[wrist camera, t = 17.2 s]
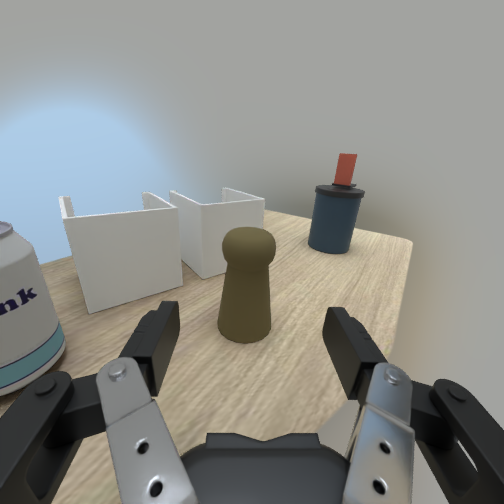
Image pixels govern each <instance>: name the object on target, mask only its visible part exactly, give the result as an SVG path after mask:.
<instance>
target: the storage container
mask: <svg viewBox="0 0 504 504" xmlns="http://www.w3.org/2000/svg"><path fill="white" fill-rule="evenodd" d="M169 193H170V203H168V202H167V201H165V200H163V199H161V198H160V197H158V196H156V195H154V194H152V193H151V192H142V198H143V205H144V210H140V211H130V212H119V213H109V214H98V215H89V216H78V217H75V215H74V211H73V207H72V203H71V199H70V196H64V197H59V202H60V207H61V214H62V219H63V223H64V226H65V230H66V234H67V237H68V241H69V244H70V248H71V252H72V255H73V259H74V262H75V266H76V270H77V273H78V277H79V280H80V284H81V288H82V291H83V295H84V298H85V302H86V305H87V309H88V313H89V314H91V313H95V312H98V311H101V310H105V309H108V308H111V307H114V306H118V305H121V304H124V303H128V302H131V301H134V300H137V299H141V298H144V297H147V296H150V295H154V294H157V293H160V292H164V291H167V290H170V289H173V288H177V287H180V286H183V278H182V263H181V260H182V261H184V262H185V263H186V264H187V265H188V266H189V267H190V268H191V269H192V270H193V271H194V272H195V273H196V274H197V275H199V276H200V277H201V278H202V279H206V278H209V277H213V276H216V275H219V274H223V273H226V268H227V262H226V260H225V259H224V256H223V252H222V242H223V239H224V237H225V235H226V234H227V232H228V231H230V230H232V229H234V228H238V227H256V228H261V229H263V219H264V208H265V199H263V198H260V197H256V196H253V195H249V194H246V193H243V192H240V191H236V190H233V189H229V188H222V203H213V204H200V203H198V202H195V201H193V200H191V199H189V198H187V197H184V196H182V195H180V194H178V193H177V191H169Z"/></svg>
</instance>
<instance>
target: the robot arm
mask: <svg viewBox="0 0 504 504" xmlns="http://www.w3.org/2000/svg"><path fill="white" fill-rule="evenodd" d="M179 332H180V318H179V305H178V301H162V302H161V304H160V306H159V308H158V310H151V311H149V312H148V313H147V314H146V315H144V316H143V317H142V319H141V320H140V322H139V324H138V326H137V327H136V329H135V330H134V333H133V334H132V335H131V337H130V339H129V340H128V342H127V344H126V345H125V347H124V348H123V350H122V352H121V353H120V355H119V357H118V358H117V359H114V360H112V361H110V362H108V363H107V364H106V365H104V366H103V367H102V368H101V369H100V371H99V372H98V373H96V374H93V375H89V376H85V377H80V378H76V379H71V376H70V375H69V374H68V373H67V372H63V371H58V372H52V373H49V374H46V375H44V376H42V377H40V378H38V379H36V380H35V381H33V382H32V383H31V384H30V385H28V386H27V387H26V388H25V390H24V391H23V392H22V393H21V394H20V395H19V397H18V398H17V399H16V400H15V401H14V403H13V404H12V405H11V406H10V407H9V408H8V410H7V411H6V412H5V413H4V414H3V416H2V417H1V418H0V504H51V503H52V501H53V499H54V497H55V495H56V493H57V491H58V489H59V487H60V485H61V483H62V481H63V479H64V477H65V475H66V473H67V471H68V469H69V467H70V465H71V463H72V461H73V459H74V457H75V455H76V453H77V451H78V449H79V447H80V445H81V443H82V441H83V439H84V438H87V437H90V436H93V435H96V434H99V433H102V432H105V431H106V433H107V438H108V442H109V447H110V451H111V456H112V461H113V465H114V470H115V474H116V479H117V484H118V488H119V493H120V498H121V502H122V504H411V503H412V483H413V482H412V481H413V463H414V462H413V461H414V442H415V441H416V443H417V444H418V446H419V448H420V450H421V452H422V454H423V456H424V458H425V459H426V461H427V463H428V465H429V467H430V469H431V471H432V472H433V474H434V476H435V478H436V480H437V482H438V484H439V485H440V487H441V489H442V491H443V493H444V494H445V497H446V499H447V500H448V502H449V504H504V430H503V429H502V428H501V427H500V425H499V424H498V423H497V422H496V421H495V420H494V419H493V418H492V416H491V415H490V414H489V413H488V412H487V411H486V409H485V408H484V407H483V406H482V405H481V404H480V403H479V402H478V400H477V399H476V398H475V397H474V396H473V395H472V394H471V393H470V392H469V391H468V390H467V389H465V388H464V387H462V386H461V385H459V384H457V383H455V382H453V381H450V380H447V379H438V380H436V381H435V383H434V385H433V386H429V385H426V384H422V383H419V382H415V381H412V380H411V379H410V378H409V376H408V375H407V374H406V373H405V372H404V371H403V370H401V369H400V368H398V367H397V366H395V365H392V364H389V363H388V362H387V360H386V359H385V357H384V356H383V354H382V353H381V351H380V350H379V348H378V347H377V345H376V344H375V342H374V341H373V340H372V338H371V336H370V335H369V334H368V333H367V331H366V329H365V328H364V326H363V325H362V324H361V323H360V322H359V321H358V320H356V319H355V318H354V317H350V316H349V314H348V313H347V311H346V310H345V308H343V307H329V308H328V309H327V313H326V317H325V322H324V326H323V331H322V335H323V340H324V343H325V345H326V348H327V350H328V353H329V355H330V357H331V360H332V362H333V365H334V367H335V369H336V372H337V374H338V377H339V379H340V381H341V384H342V386H343V389H344V391H345V393H346V396H347V398H348V400H358V402H359V404H360V406H359V409H358V412H357V415H356V419H355V422H354V426H353V429H352V433H351V437H350V440H349V444H348V447H347V450H346V453H345V456H344V457H343V456H342V455H341V454H339V453H338V452H336V451H335V450H333V449H331V448H330V447H327V446H325V445H322V444H320V441H319V438H318V434H317V433H290V434H287V435H283V436H280V437H277V438H274V439H271V440H268V441H259V440H256V439H253V438H249V437H246V436H243V435H240V434H236V433H207V436H206V443H203V444H200V445H198V446H196V447H194V448H192V449H190V450H189V451H187V452H186V453H184V454H183V455H182V456H181V457H180V456H179V454H178V451H177V449H176V447H175V444H174V442H173V440H172V437H171V435H170V433H169V430H168V428H167V426H166V423H165V421H164V419H163V416H162V414H161V412H160V409H159V407H158V405H157V403H156V401H155V399H153V400H152V398H151V396H153V397H157V396H158V394H159V391H160V388H161V385H162V382H163V379H164V376H165V374H166V371H167V368H168V365H169V362H170V359H171V356H172V354H173V351H174V348H175V345H176V342H177V339H178V336H179ZM458 440H459V441H460V443H461V444H462V446H463V447H464V448H465V450H466V451H467V453H468V454H469V456H470V457H471V459H472V460H473V462H474V463H475V466H476V468H477V471H478V472H477V471H476V469H475V468H474V466H473V465H472V463H471V462H470V460H469V459H468V457H467V456H466V454H465V453H464V451H463V450H462V449H461V447H460V446H459V444H458V443H457V442H458Z"/></svg>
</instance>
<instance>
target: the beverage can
mask: <svg viewBox="0 0 504 504" xmlns="http://www.w3.org/2000/svg"><path fill="white" fill-rule="evenodd" d="M65 346H66V340H65V337H64V334H63V331H62V328H61V325H60V323H59V320H58V317H57V314H56V311H55V308H54V305H53V302H52V300H51V297H50V294H49V291H48V288H47V285H46V282H45V279H44V277H43V274H42V271H41V268H40V265H39V262H38V259H37V256H36V254H35V251H34V248H33V246H32V244H31V243H30V242H28V241H27V240H26V239H24V238H23V237H22V236H20V235H19V234H18V233H16V232H15V231H14V230H13V227H12V225H11V224H10V223H7V222H2V221H0V396H2V395H5V394H9V393H11V392H14V391H17V390H19V389H21V388H23V387H25V386H27V385H28V384H30V383H32V382H33V381H35V380H36V379H37V378H39V377H40V376H41V375H42V374H43V373H45V372H46V371H47V370H48V369H49V368H51V367H52V366H53V365H54V364H55V363H56V362H57V360H58V359H59V358H60V356H61V355H62V353H63V351H64V349H65Z"/></svg>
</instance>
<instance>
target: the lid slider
mask: <svg viewBox="0 0 504 504" xmlns="http://www.w3.org/2000/svg"><path fill="white" fill-rule="evenodd" d="M356 158H357V154H341V153H340V155H339V160H338V165H337V170H336V175H335V181H334V183H333V184H332V186H339V187H347V188H352V187H355V186H356V184H351V180H352V176H353V171H354V167H355V162H356Z"/></svg>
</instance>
